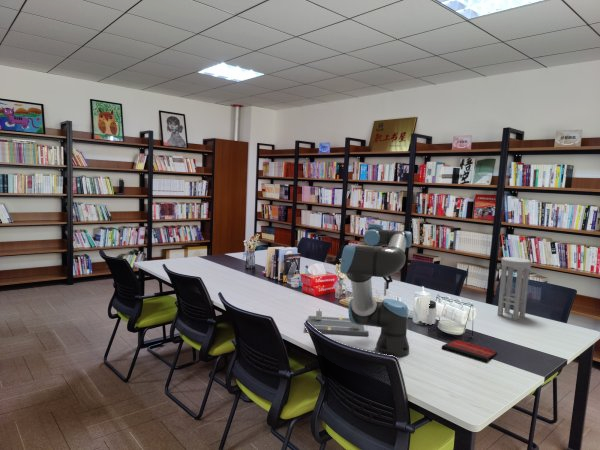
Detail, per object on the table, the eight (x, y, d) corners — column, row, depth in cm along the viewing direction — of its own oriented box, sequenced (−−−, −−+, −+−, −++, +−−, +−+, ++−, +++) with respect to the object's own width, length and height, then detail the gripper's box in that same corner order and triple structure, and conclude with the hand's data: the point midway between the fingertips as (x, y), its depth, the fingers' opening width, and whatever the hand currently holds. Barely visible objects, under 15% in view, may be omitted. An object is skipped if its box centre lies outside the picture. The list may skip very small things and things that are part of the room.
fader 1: (321, 319, 227) (321, 311, 227) (316, 319, 228) (316, 310, 227) (321, 317, 231) (322, 308, 231) (316, 317, 232) (316, 308, 231)
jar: (416, 320, 240) (417, 299, 239) (428, 319, 243) (430, 299, 242) (425, 325, 232) (426, 304, 231) (437, 324, 234) (439, 303, 233)
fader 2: (359, 328, 216) (360, 319, 215) (353, 328, 216) (354, 319, 216) (359, 326, 220) (359, 317, 219) (353, 325, 220) (353, 316, 219)
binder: (487, 358, 186) (441, 345, 200) (486, 364, 186) (441, 350, 200) (498, 350, 198) (455, 338, 212) (498, 355, 198) (454, 342, 212)
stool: (518, 321, 245) (524, 262, 241) (492, 314, 257) (497, 258, 253) (529, 316, 255) (535, 260, 251) (504, 310, 266) (509, 256, 263)
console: (368, 336, 212) (368, 332, 212) (305, 332, 215) (305, 328, 215) (365, 322, 233) (366, 319, 233) (308, 318, 236) (308, 315, 236)
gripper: (397, 253, 216) (394, 293, 218) (349, 251, 218) (347, 291, 220) (399, 256, 209) (397, 297, 211) (349, 253, 211) (347, 294, 213)
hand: (371, 294), depth 215 cm, fingers open, 13 cm apart
